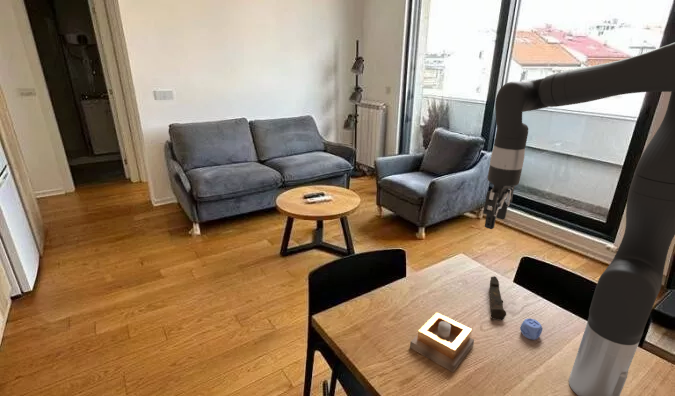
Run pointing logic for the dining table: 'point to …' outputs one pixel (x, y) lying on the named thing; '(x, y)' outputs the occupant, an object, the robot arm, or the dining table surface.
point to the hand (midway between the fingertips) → (495, 223)
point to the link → (441, 344)
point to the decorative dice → (531, 328)
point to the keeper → (436, 356)
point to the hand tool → (496, 300)
